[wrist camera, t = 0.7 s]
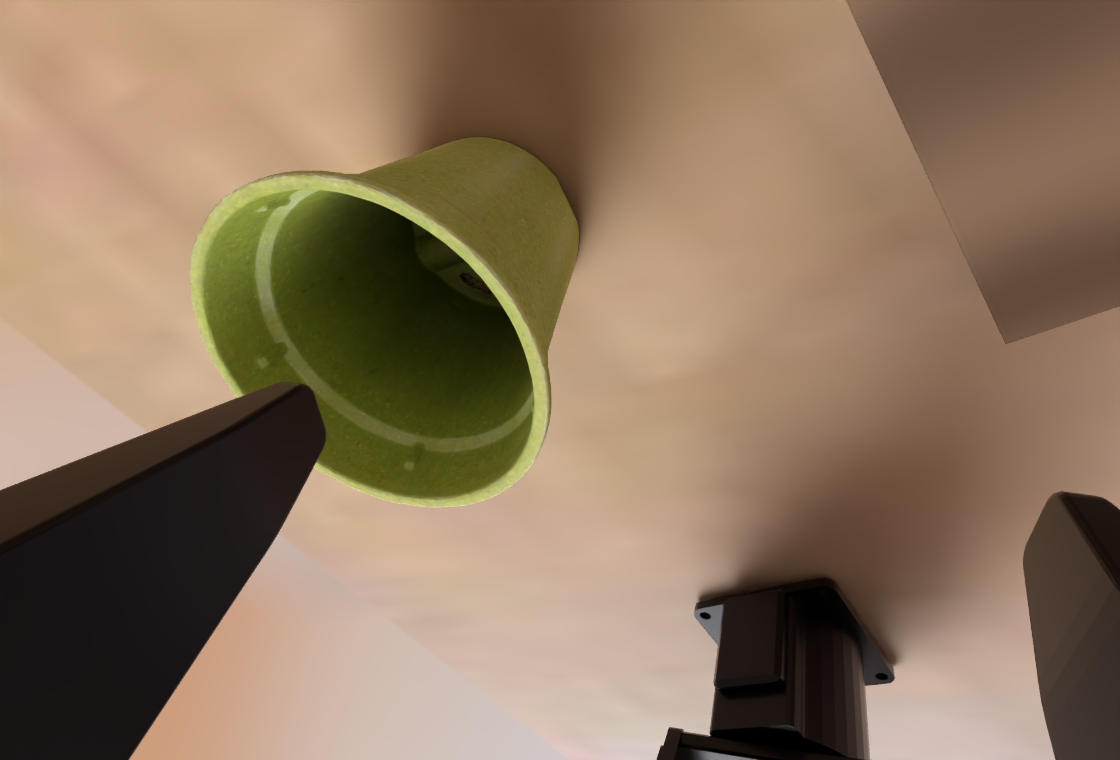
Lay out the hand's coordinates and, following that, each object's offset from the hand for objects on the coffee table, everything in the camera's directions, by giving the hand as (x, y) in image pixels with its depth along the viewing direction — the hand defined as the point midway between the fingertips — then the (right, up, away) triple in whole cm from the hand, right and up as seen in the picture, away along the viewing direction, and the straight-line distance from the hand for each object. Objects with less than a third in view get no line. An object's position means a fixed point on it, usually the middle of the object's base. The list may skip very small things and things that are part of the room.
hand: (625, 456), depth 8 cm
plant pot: (-3, +6, +15) cm, 16 cm away
